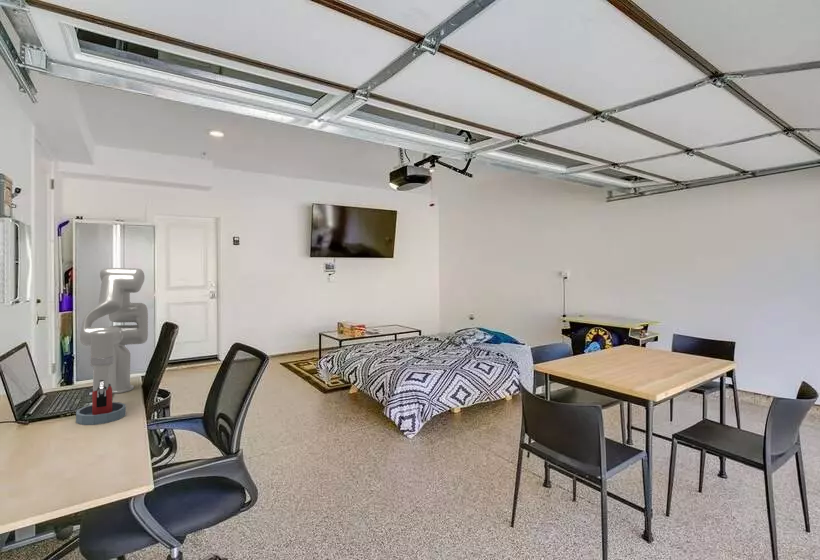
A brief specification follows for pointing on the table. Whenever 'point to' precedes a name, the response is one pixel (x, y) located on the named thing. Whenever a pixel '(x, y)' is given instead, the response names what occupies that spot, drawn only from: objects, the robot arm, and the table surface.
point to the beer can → (106, 408)
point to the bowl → (100, 415)
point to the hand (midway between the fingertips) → (101, 403)
